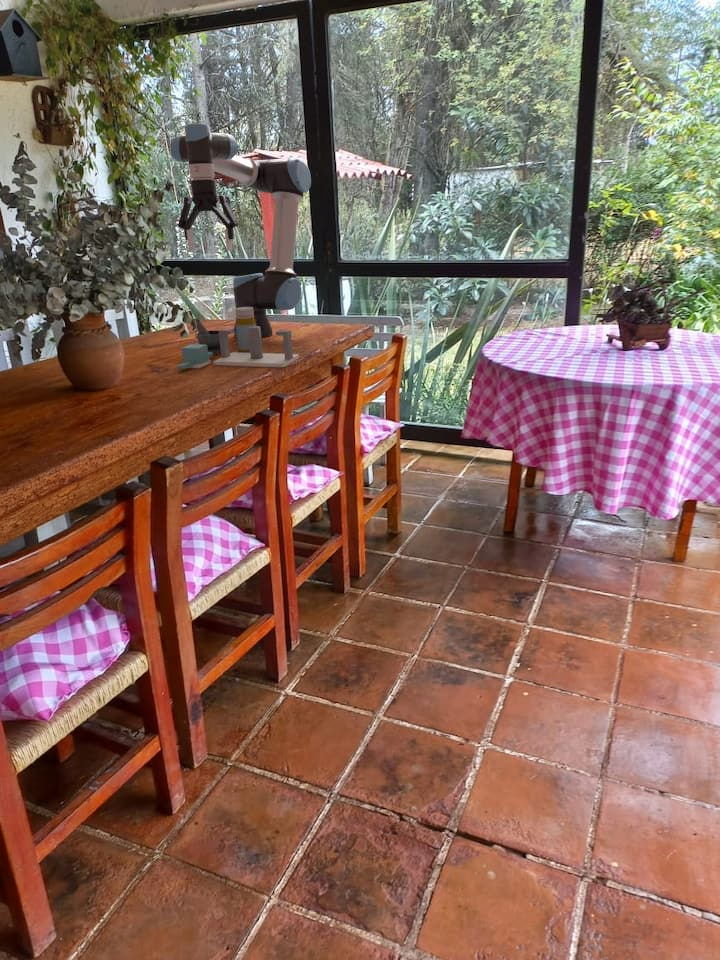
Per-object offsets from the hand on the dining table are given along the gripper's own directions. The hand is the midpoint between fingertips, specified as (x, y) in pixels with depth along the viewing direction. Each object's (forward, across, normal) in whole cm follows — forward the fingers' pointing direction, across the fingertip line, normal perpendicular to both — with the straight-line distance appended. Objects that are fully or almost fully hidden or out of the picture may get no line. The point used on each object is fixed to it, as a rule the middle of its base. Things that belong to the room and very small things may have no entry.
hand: (210, 250), depth 225 cm
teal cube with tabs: (+34, -3, -12) cm, 36 cm away
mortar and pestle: (+35, -8, +7) cm, 36 cm away
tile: (+35, -3, -12) cm, 37 cm away
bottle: (+35, +5, +10) cm, 37 cm away
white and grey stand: (+35, +15, -4) cm, 38 cm away
